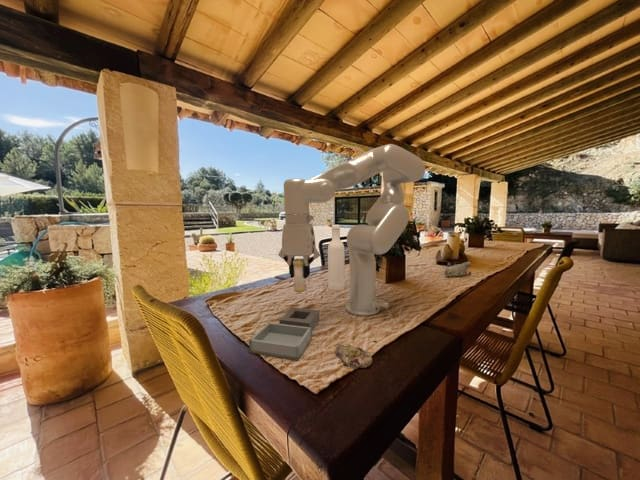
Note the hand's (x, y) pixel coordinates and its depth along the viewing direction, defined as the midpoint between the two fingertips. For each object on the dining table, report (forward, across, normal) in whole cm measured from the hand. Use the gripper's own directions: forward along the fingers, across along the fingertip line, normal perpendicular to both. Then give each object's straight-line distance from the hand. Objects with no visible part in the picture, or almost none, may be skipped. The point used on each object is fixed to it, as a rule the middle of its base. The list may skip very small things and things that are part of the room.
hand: (299, 276), depth 82 cm
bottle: (+17, -3, -40) cm, 43 cm away
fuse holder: (+16, 0, 0) cm, 16 cm away
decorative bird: (+18, -61, -75) cm, 98 cm away
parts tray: (+16, +1, +13) cm, 21 cm away
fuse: (+5, 0, 0) cm, 5 cm away
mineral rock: (+17, -19, +14) cm, 29 cm away
